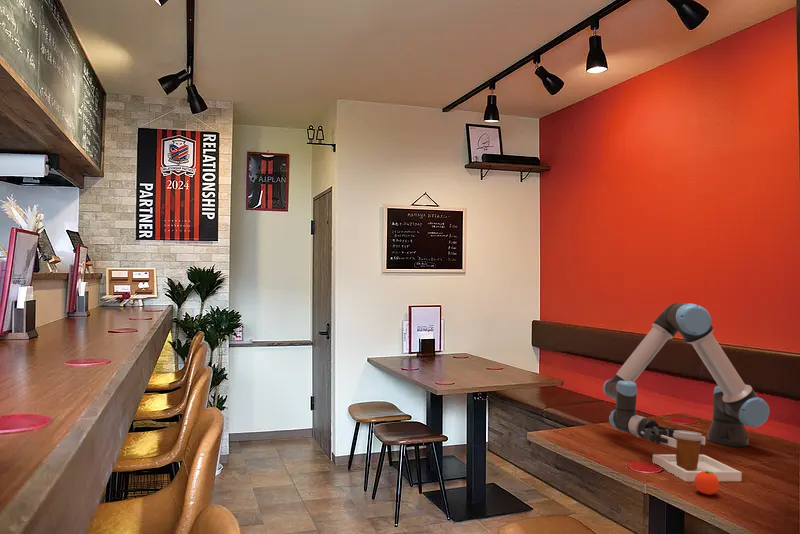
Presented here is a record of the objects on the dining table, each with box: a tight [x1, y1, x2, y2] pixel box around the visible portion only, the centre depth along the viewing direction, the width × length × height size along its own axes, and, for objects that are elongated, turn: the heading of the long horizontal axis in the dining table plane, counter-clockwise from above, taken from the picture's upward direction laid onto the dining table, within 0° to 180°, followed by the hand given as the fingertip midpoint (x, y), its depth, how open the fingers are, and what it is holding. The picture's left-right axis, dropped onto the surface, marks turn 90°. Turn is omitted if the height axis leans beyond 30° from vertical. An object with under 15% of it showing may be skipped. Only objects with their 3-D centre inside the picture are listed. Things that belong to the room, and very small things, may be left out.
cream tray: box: [651, 454, 742, 483], centre depth 216 cm, size 20×20×3 cm
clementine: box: [694, 471, 720, 496], centre depth 194 cm, size 8×7×7 cm
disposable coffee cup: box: [672, 429, 703, 470], centre depth 216 cm, size 10×10×12 cm
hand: (690, 442), depth 218 cm, fingers open, 13 cm apart
